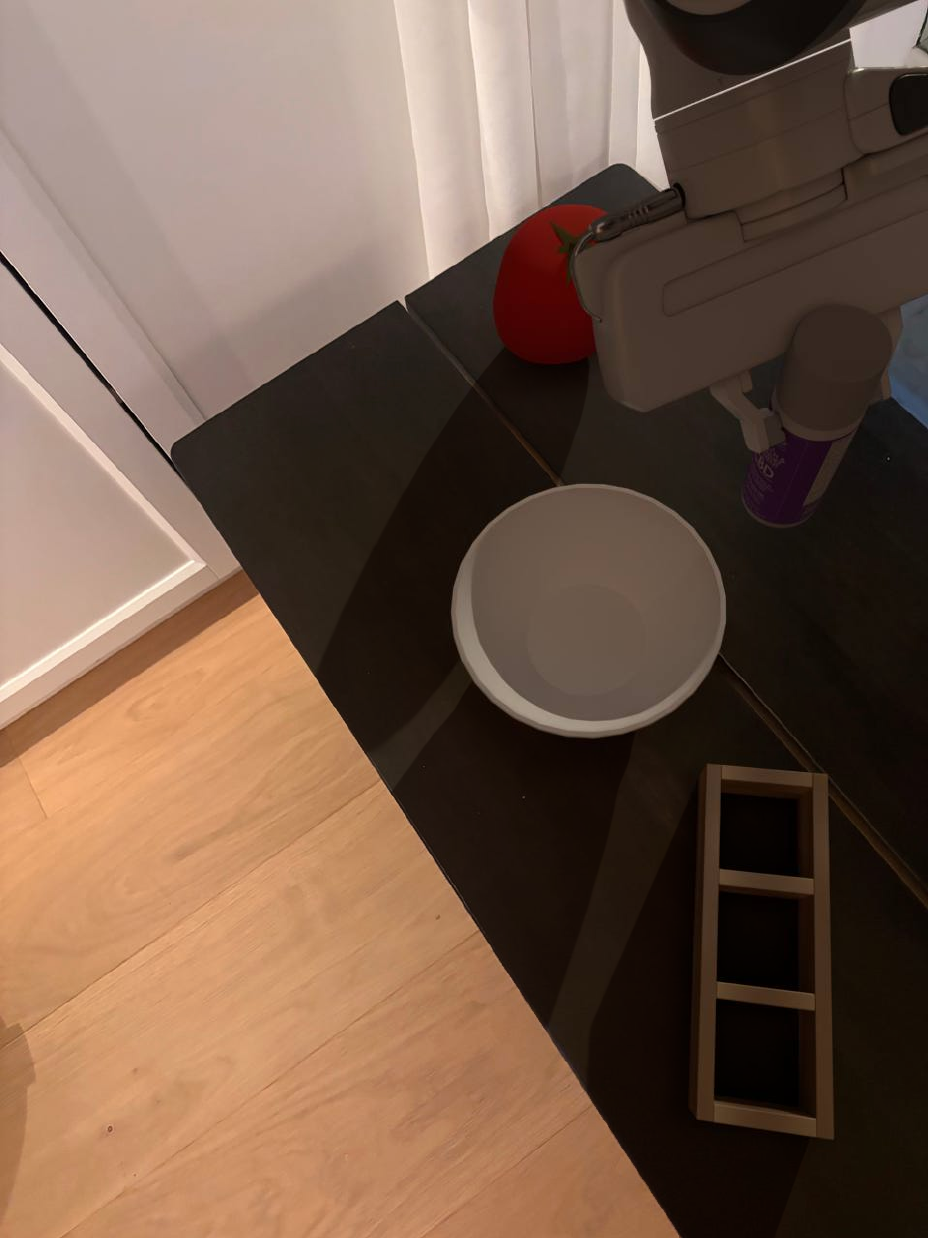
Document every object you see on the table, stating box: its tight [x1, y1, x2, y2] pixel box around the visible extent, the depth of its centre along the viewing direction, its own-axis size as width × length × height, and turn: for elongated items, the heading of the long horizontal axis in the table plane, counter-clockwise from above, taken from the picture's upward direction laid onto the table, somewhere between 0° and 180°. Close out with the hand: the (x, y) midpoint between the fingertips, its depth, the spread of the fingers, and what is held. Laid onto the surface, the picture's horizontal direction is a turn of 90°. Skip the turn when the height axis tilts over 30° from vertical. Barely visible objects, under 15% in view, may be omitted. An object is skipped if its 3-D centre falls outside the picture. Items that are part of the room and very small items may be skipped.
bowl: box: [450, 483, 727, 739], centre depth 69 cm, size 20×19×8 cm
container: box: [740, 305, 892, 529], centre depth 50 cm, size 5×5×15 cm
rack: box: [688, 763, 835, 1141], centre depth 61 cm, size 8×22×5 cm, turn 173°
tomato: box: [492, 204, 627, 365], centre depth 78 cm, size 12×14×11 cm
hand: (819, 424), depth 48 cm, fingers closed on container, 5 cm apart
